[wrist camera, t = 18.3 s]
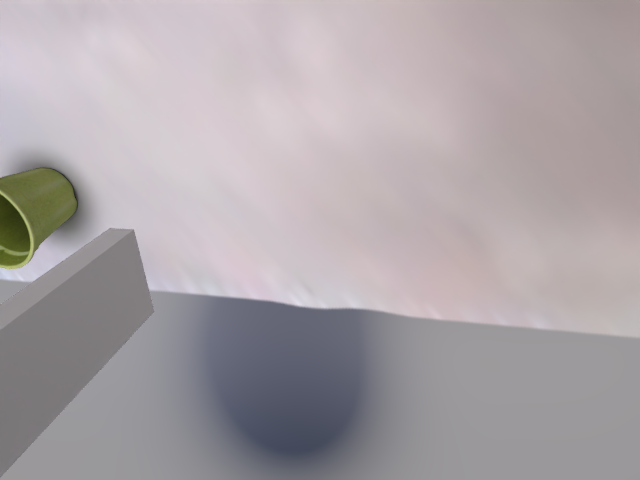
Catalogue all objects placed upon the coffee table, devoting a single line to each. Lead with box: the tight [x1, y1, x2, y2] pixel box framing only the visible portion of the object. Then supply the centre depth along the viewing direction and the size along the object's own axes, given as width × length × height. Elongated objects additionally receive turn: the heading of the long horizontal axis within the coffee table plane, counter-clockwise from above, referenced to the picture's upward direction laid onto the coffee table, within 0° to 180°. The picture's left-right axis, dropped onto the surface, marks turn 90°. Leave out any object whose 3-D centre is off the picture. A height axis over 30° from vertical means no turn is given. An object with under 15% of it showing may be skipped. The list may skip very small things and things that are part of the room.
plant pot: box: [0, 168, 77, 269], centre depth 51 cm, size 9×9×9 cm
